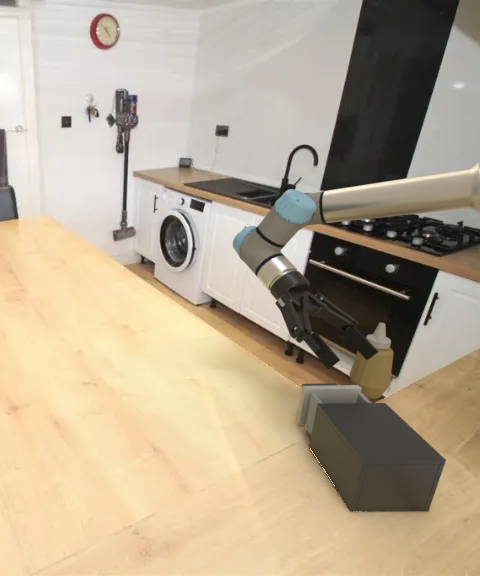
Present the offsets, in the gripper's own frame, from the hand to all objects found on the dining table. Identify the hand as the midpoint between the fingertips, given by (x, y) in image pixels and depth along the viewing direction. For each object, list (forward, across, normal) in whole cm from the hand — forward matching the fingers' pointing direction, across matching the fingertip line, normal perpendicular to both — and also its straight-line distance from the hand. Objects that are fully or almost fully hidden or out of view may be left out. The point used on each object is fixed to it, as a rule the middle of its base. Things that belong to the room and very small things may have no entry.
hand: (354, 360), depth 78 cm
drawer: (+9, -1, -14) cm, 17 cm away
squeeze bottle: (+2, -22, -15) cm, 27 cm away
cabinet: (+17, +4, -12) cm, 21 cm away
